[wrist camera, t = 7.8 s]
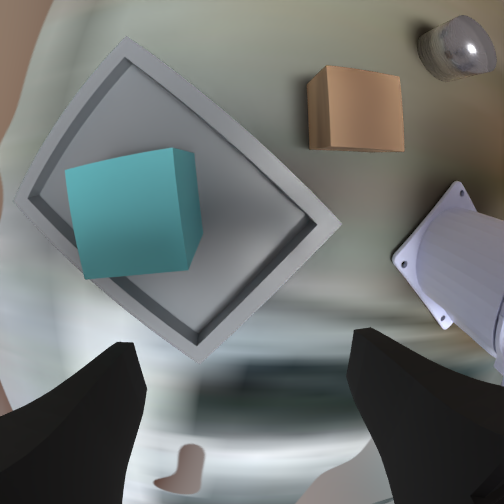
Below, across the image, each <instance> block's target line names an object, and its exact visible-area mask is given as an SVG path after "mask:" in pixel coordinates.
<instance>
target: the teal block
mask: <svg viewBox="0 0 504 504" xmlns="http://www.w3.org/2000/svg"><path fill="white" fill-rule="evenodd" d="M65 177H66V185H67V193H68V200H69V206H70V212H71V218H72V224H73V229H74V234H75V239H76V244H77V248H78V253H79V257H80V261H81V266H82V270H83V274H84V277H85V279H97V278H109V277H120V276H132V275H143V274H154V273H164V272H175V271H186V270H189V267H190V265H191V262H192V260H193V257H194V255H195V252H196V250H197V247H198V245H199V242H200V240H201V238H202V235H203V227H202V219H201V211H200V202H199V194H198V184H197V175H196V165H195V155H194V153H191V152H188V151H184V150H180V149H176V148H167V149H160V150H154V151H149V152H143V153H138V154H132V155H127V156H122V157H118V158H113V159H108V160H104V161H99V162H95V163H91V164H87V165H82V166H78V167H75V168H71V169H67V170H65Z"/></svg>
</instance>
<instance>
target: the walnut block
mask: <svg viewBox="0 0 504 504" xmlns="http://www.w3.org/2000/svg"><path fill="white" fill-rule="evenodd" d="M307 101H308V122H309V150H338V151H358V152H404V127H403V110H402V97H401V86H400V77H398V76H393V75H388V74H383V73H378V72H372V71H366V70H360V69H353V68H346V67H338V66H329V65H326V66H325V67H324V68H323V69H322V70H321V71H320V72H319V73H318V74H317V75H316V76H315V77H314V78H313V79H312V80H311V81H310V82H309V83H308V84H307Z"/></svg>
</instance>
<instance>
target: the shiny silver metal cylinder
mask: <svg viewBox="0 0 504 504" xmlns="http://www.w3.org/2000/svg"><path fill="white" fill-rule="evenodd" d="M417 48H418V53H419V56H420V59H421V61H422V63H423V64H424V66H425V67H426V69H427V70H428V71H429V72H430V73H431V74H432V75H433V76H434V77H436V78H437V79H439V80H441V81H445V82H449V81H453V80H457V79H461V78H465V77H469V76H473V75H477V74H482V73H486V72H490V71H493V70H494V69H495V67H496V62H497V59H496V52H495V49H494V46H493V43H492V41H491V39H490V37H489V36H488V34H487V33H486V31H485V30H484V29H483V28H482V26H481V25H480V24H479V23H477V22H476V21H475V20H474V19H472V18H470V17H468V16H465V15H461V16H458V17H456V18H454V19H452V20H450V21H448V22H446V23H444V24H442V25H440V26H438V27H436V28H434V29H432V30H430V31H429V32H427V33H425V34H423V35H422V36H420V38H419V40H418V44H417Z"/></svg>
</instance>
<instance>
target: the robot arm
mask: <svg viewBox="0 0 504 504" xmlns="http://www.w3.org/2000/svg"><path fill="white" fill-rule="evenodd" d="M460 191H461V195H460ZM403 261H405V263H404V265H403V266H401V264H402V262H403ZM392 262H393V264H394V265H395V266H396V267H397V269H398V270H399V271H400V273H401V274H402V275H403V276H404V278H405V279H406V280H407V281H408V283H409V284H410V285H411V287H412V288H413V289H414V291H415V292H416V293H417V294H418V296H419V297H420V298H421V300H422V301H423V303H424V304H425V305H426V307H427V308H428V309H429V311H430V312H431V313H432V315H433V316H434V318H435V319H436V321H437V322H438V323H439V325H440V326H441V327H442V328H443V329H447V328H448V327H449V326H450V325H451V324H452V323H453V322H454V323H455V324H456V325H457V326H458V327H460V328H461V329H462V330H463V331H464V332H465V333H467V334H468V335H469V336H470V337H471V338H472V339H473V340H475V341H476V342H477V343H478V344H479V345H480V346H481V347H482V348H484V349H485V350H486V351H487V352H488V353H489V354H490V355H492V356H493V357H495V358H496V361H495V363H494V367H495V368H496V369H497V370H498V371H499V372H500V373H501V374H502V375H503V376H504V221H503V220H500V219H497V218H494V217H491V216H488V215H485V214H482V213H478V212H477V211H476V209H475V207H474V205H473V203H472V201H471V199H470V197H469V195H468V193H467V192H466V190H465V188H464V186H463V184H462V183H461V182H459V181H454V182H453V184H452V185H451V186H450V187H449V189H448V190H447V191H446V193H445V194H444V195H443V197H442V198H441V199H440V200H439V202H438V203H437V204H436V205H435V207H434V208H433V209H432V210H431V212H430V213H429V214H428V215H427V216H426V218H425V219H424V220H423V221H422V222H421V224H420V225H419V226H418V227H417V228H416V230H415V231H414V232H413V233H412V234H411V235H410V237H409V238H408V239H407V240H406V241H405V242H404V243H403V245H402V246H401V247H400V248H399V249H398V250H397V251H396V252H395V253H394V255H393V257H392ZM441 317H442V318H441ZM346 377H347V381H348V384H349V387H350V390H351V393H352V396H353V399H354V402H355V404H356V406H357V408H358V410H359V412H360V414H361V416H362V418H363V420H364V422H365V424H366V426H367V428H368V430H369V432H370V434H371V436H372V438H373V440H374V442H375V445H376V447H377V449H378V451H379V453H380V456H381V458H382V461H383V464H384V467H385V471H386V474H387V477H388V480H389V484H390V488H391V491H392V495H393V499H394V503H395V504H504V377H503V380H502V383H501V386H499V385H495V384H491V383H487V382H484V381H480V380H477V379H474V378H471V377H468V376H465V375H463V374H460V373H457V372H455V371H452V370H450V369H448V368H445V367H443V366H441V365H439V364H437V363H435V362H433V361H431V360H429V359H427V358H425V357H423V356H421V355H419V354H418V353H416V352H414V351H412V350H410V349H409V348H407V347H405V346H403V345H402V344H400V343H398V342H396V341H395V340H393V339H391V338H389V337H388V336H386V335H384V334H382V333H381V332H379V331H377V330H375V329H373V328H371V327H370V328H363V329H356V330H354V334H353V340H352V347H351V353H350V359H349V364H348V370H347V375H346ZM146 392H147V387H146V384H145V381H144V377H143V374H142V371H141V367H140V364H139V361H138V357H137V354H136V350H135V346H134V343H132V342H116V343H115V344H113V345H112V346H110V347H109V348H108V349H106V350H105V351H104V352H102V353H101V354H100V355H98V356H97V357H96V358H95V359H93V360H92V361H91V362H89V363H88V364H87V365H86V366H84V367H83V368H82V369H80V370H79V371H78V372H77V373H75V374H74V375H72V376H71V377H70V378H68V379H67V380H65V381H64V382H63V383H61V384H60V385H58V386H57V387H55V388H54V389H53V390H51V391H50V392H48V393H46V394H45V395H43V396H41V397H40V398H38V399H36V400H34V401H33V402H31V403H29V404H27V405H25V406H23V407H21V408H19V409H16V410H14V411H12V412H10V413H7V414H5V415H3V416H0V504H122V498H123V489H124V482H125V475H126V470H127V466H128V462H129V459H130V455H131V452H132V448H133V445H134V442H135V438H136V435H137V432H138V429H139V425H140V422H141V419H142V415H143V411H144V405H145V399H146Z"/></svg>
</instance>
